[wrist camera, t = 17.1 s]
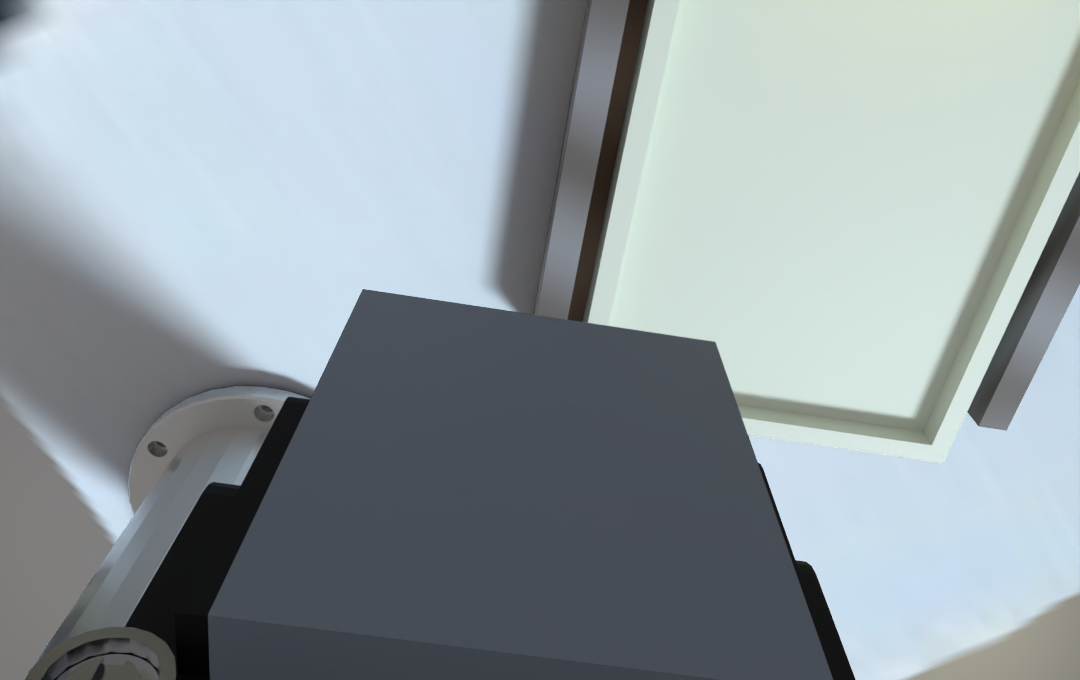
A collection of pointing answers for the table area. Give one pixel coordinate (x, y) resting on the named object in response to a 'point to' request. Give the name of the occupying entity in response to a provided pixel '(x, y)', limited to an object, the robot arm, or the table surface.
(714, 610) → the slate block
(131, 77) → the table surface
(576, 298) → the guide base
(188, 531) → the robot arm
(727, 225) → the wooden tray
